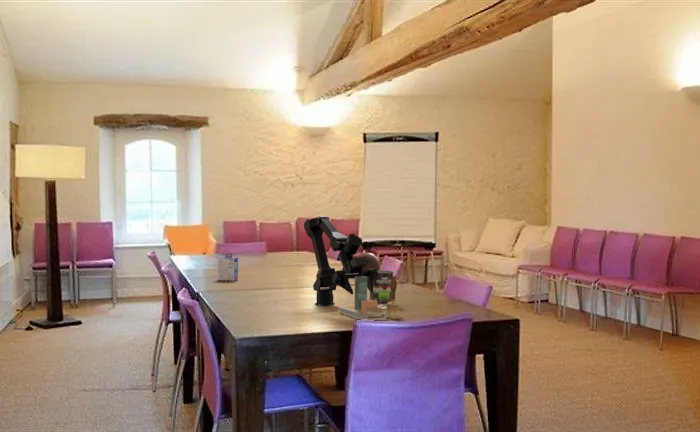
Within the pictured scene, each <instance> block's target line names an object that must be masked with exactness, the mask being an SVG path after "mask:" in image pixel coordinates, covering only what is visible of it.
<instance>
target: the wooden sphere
mask: <svg viewBox="0 0 700 432" xmlns="http://www.w3.org/2000/svg"><path fill="white" fill-rule="evenodd" d="M363 256H367V257H368V258H369V264H367V265H366V266H364V267H363V270H362V271H361V273H365V272H366V270H367V269H376V270H377V271H381V263H380V259H379V258H378V257H377V256H376V255H375V254H373V253H370V252H363V253H360V254H358V255H357V256H356V257H363Z"/></svg>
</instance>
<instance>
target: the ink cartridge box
mask: <svg viewBox="0 0 700 432" xmlns="http://www.w3.org/2000/svg"><path fill="white" fill-rule="evenodd" d="M224 256H225V257H218V258H217V281H228V280H229V282H231V281H233V282H234V281H238V280H239V258H238V257H233V253H230V252H227V253H226V254H225V255H224Z"/></svg>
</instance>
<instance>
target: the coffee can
mask: <svg viewBox="0 0 700 432" xmlns="http://www.w3.org/2000/svg"><path fill="white" fill-rule="evenodd" d="M392 276H394V272H393V271H391V270H379V271H378V275H377V276H376V278H375V280H374V281H373V293H371V292H370V291H369V297H368V300H370V299H372V300H375V301H378V306H379V305H384V306H387V303H389V302H390V301H391V288H390V282H391V279H392Z"/></svg>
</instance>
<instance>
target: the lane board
mask: <svg viewBox="0 0 700 432" xmlns="http://www.w3.org/2000/svg"><path fill="white" fill-rule="evenodd" d="M378 306H382V307H386V308H387V305H386V306H384V305H378ZM338 312H339V314H341V315H343V316H345V317H346V316H347V317H349V318H353V319H356V320H358V319H367V320H382V321H387V318H386V314H385V312H382V317H371V318H368V316H369V315H366V314H362V313H359V312H356V311H353V309H349V308H346V307H342V306H339V311H338Z"/></svg>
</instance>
